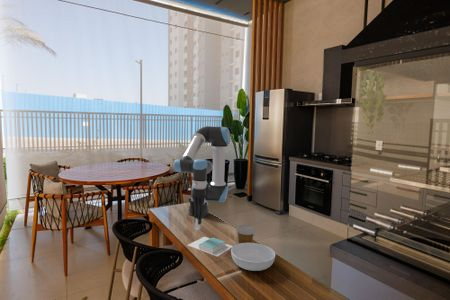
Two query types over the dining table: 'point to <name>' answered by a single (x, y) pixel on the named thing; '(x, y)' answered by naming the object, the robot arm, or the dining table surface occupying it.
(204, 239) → the mat
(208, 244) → the tile
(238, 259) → the serving bowl
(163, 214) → the dining table surface
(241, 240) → the disposable coffee cup
